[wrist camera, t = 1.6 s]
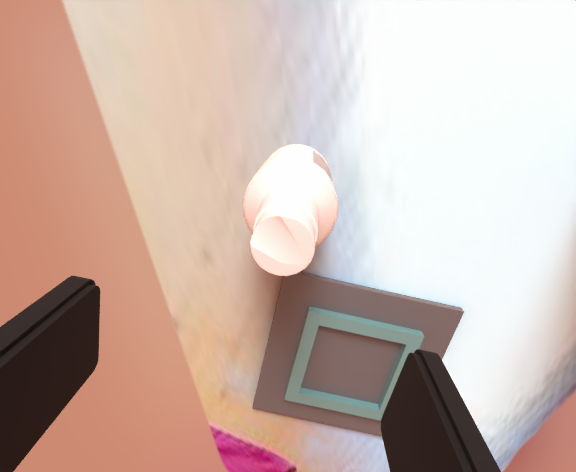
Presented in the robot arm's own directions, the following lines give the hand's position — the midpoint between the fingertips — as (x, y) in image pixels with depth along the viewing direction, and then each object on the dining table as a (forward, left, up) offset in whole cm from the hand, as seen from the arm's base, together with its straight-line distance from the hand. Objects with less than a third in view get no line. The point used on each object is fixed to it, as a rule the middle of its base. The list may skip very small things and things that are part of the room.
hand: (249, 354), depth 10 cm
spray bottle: (0, 0, -27) cm, 27 cm away
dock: (-11, +20, -26) cm, 35 cm away
